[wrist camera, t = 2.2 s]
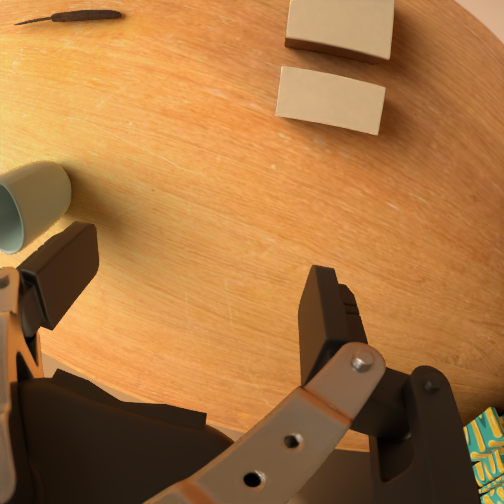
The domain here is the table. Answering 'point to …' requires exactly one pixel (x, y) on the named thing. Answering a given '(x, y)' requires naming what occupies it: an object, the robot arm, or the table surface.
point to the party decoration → (488, 453)
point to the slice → (330, 99)
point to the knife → (78, 16)
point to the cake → (342, 28)
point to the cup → (31, 203)
